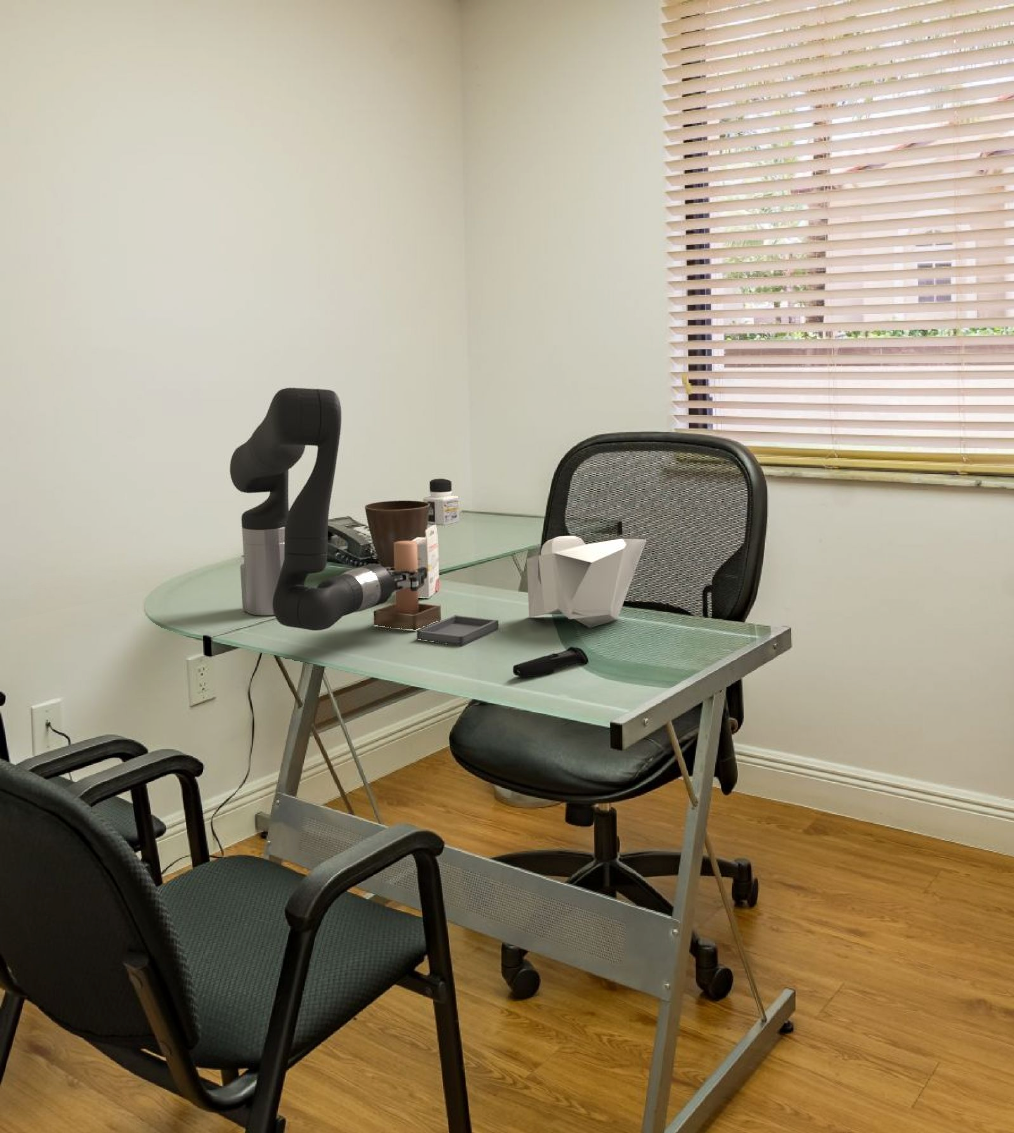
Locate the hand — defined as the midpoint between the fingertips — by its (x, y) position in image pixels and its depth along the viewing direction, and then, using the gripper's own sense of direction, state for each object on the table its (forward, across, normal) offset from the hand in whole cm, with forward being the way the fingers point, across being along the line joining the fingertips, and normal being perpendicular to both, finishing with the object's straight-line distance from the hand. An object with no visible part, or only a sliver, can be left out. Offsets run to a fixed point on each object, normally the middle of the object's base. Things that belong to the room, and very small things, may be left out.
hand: (413, 571), depth 219 cm
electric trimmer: (-19, -39, +10) cm, 44 cm away
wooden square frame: (-3, 0, +10) cm, 10 cm away
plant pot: (+38, +28, +10) cm, 48 cm away
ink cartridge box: (+20, +11, +10) cm, 25 cm away
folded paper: (+14, -31, +10) cm, 36 cm away
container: (+106, +59, +10) cm, 122 cm away
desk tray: (-6, -13, +10) cm, 17 cm away
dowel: (-3, 0, +9) cm, 9 cm away
